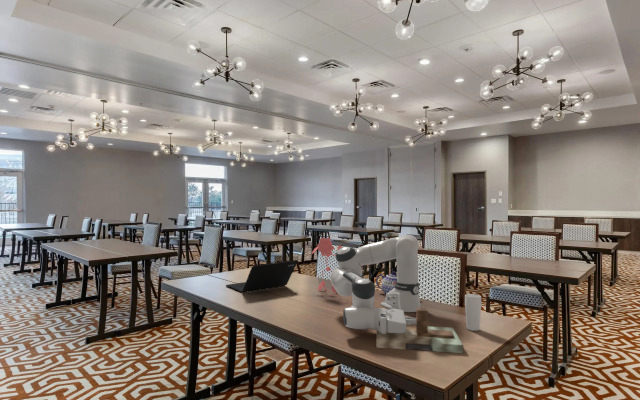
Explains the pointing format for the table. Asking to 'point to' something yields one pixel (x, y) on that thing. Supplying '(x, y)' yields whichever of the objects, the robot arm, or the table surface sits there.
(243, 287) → the laptop
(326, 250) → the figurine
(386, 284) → the teapot
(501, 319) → the table surface
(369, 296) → the robot arm
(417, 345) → the board
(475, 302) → the drinking glass
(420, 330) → the push block
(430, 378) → the table surface
